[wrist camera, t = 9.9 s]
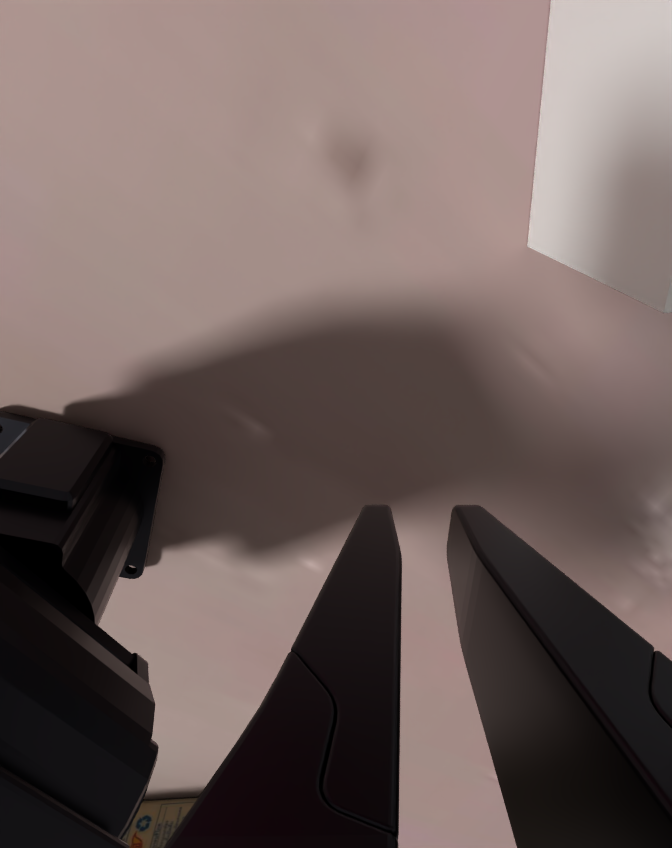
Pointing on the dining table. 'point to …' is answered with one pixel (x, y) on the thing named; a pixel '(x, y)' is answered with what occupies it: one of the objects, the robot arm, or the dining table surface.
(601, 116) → the case
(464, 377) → the dining table surface
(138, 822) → the beverage carton
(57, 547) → the robot arm
